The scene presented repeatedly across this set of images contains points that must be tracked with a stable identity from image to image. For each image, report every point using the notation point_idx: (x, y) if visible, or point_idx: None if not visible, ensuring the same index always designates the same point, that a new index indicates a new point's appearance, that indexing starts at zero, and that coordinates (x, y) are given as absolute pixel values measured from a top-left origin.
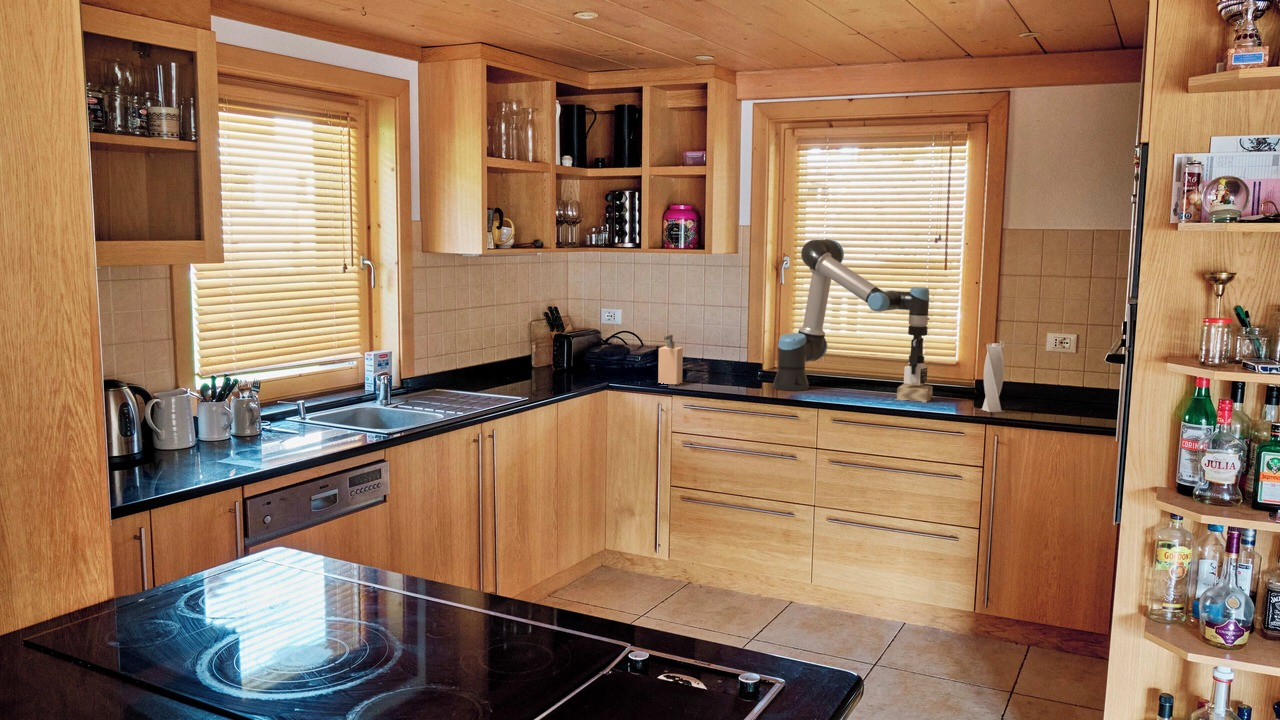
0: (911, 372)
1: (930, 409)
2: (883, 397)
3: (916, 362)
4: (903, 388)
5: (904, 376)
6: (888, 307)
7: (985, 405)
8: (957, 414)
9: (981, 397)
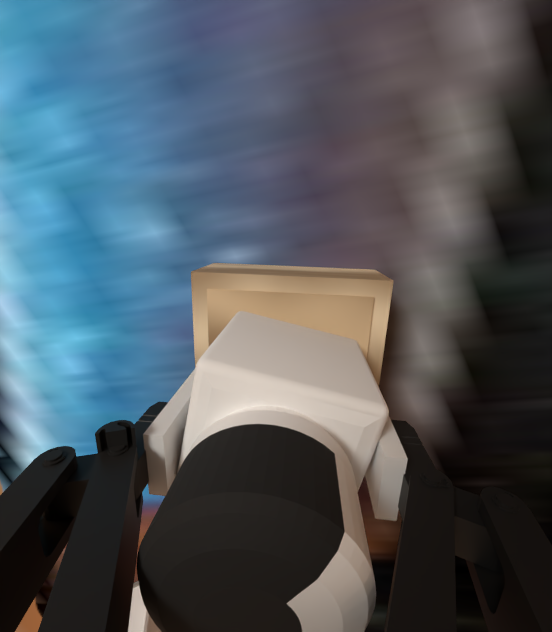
0: (147, 411)
1: (66, 425)
2: (264, 175)
3: (70, 534)
4: (193, 310)
5: (223, 329)
6: None
7: (135, 606)
8: None
9: (468, 584)
